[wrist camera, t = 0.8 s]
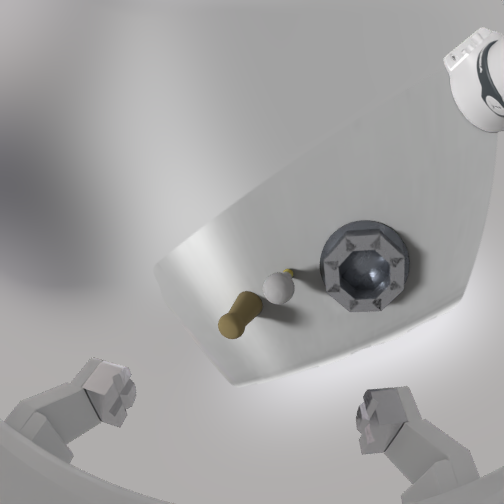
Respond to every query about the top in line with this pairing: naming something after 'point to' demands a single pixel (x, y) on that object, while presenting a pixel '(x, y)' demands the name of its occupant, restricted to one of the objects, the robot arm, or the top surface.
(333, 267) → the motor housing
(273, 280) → the light bulb
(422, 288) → the top surface
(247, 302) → the cork
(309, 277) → the top surface
